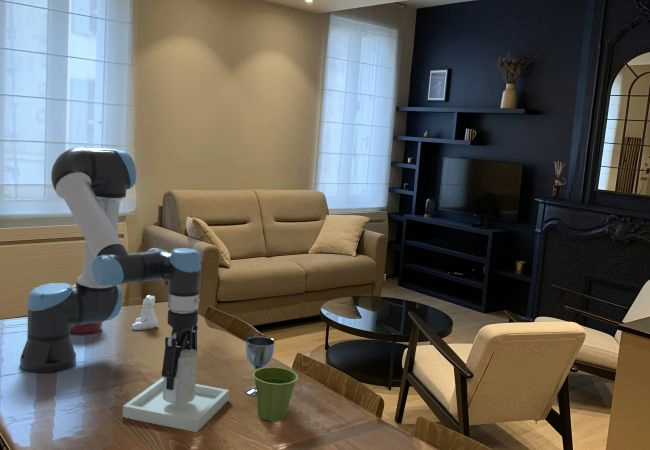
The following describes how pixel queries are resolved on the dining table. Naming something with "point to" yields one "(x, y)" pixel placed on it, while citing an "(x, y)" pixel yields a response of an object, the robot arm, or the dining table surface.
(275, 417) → the plant pot
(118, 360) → the dining table surface
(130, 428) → the dining table surface
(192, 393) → the white round cylinder
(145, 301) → the sitting furry creature
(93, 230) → the robot arm
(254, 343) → the wine glass
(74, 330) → the canister
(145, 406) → the tray
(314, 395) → the dining table surface
